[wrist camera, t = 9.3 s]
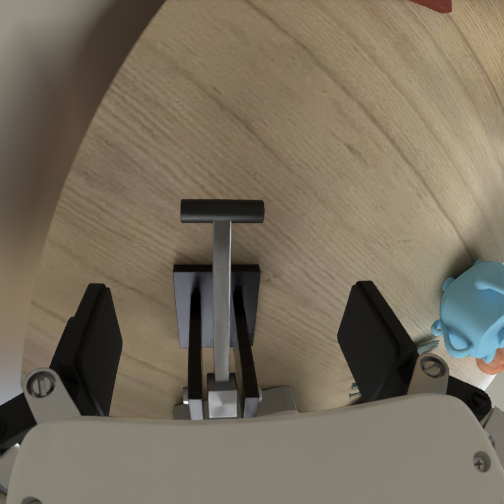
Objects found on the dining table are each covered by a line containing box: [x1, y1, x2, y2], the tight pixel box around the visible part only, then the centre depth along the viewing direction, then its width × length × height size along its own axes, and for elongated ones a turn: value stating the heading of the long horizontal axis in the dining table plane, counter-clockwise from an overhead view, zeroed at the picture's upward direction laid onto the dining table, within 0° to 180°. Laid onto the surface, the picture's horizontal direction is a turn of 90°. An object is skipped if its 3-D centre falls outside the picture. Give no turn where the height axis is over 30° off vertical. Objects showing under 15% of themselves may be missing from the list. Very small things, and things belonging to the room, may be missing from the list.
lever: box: [181, 199, 265, 418], centre depth 21 cm, size 16×5×2 cm, turn 176°
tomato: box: [476, 347, 504, 375], centre depth 41 cm, size 11×11×8 cm
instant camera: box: [172, 386, 299, 420], centre depth 39 cm, size 21×21×15 cm
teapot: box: [431, 259, 504, 363], centre depth 32 cm, size 13×14×11 cm
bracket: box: [173, 265, 262, 420], centre depth 27 cm, size 10×8×13 cm
